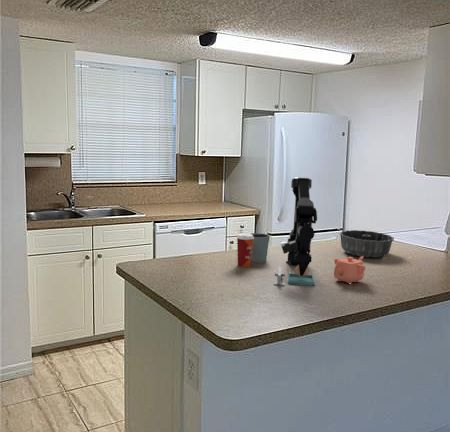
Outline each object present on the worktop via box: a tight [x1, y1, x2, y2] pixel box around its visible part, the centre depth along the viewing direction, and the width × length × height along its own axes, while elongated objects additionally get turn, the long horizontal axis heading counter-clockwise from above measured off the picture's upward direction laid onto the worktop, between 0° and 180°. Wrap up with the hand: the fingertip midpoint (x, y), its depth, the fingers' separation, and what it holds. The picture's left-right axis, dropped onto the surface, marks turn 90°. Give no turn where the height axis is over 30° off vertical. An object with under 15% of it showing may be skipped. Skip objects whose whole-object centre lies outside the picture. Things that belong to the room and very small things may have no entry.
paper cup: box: [236, 233, 254, 268], centre depth 211 cm, size 8×8×14 cm
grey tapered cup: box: [250, 232, 271, 264], centre depth 222 cm, size 10×10×12 cm
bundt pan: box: [339, 229, 395, 258], centre depth 242 cm, size 26×26×10 cm
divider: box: [273, 264, 286, 287], centre depth 192 cm, size 16×4×4 cm, turn 172°
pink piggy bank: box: [333, 256, 366, 284], centre depth 193 cm, size 14×12×10 cm
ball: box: [294, 265, 309, 277], centre depth 191 cm, size 5×5×5 cm
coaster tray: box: [287, 272, 316, 286], centre depth 192 cm, size 10×10×2 cm
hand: (301, 273), depth 191 cm, fingers closed on ball, 5 cm apart
